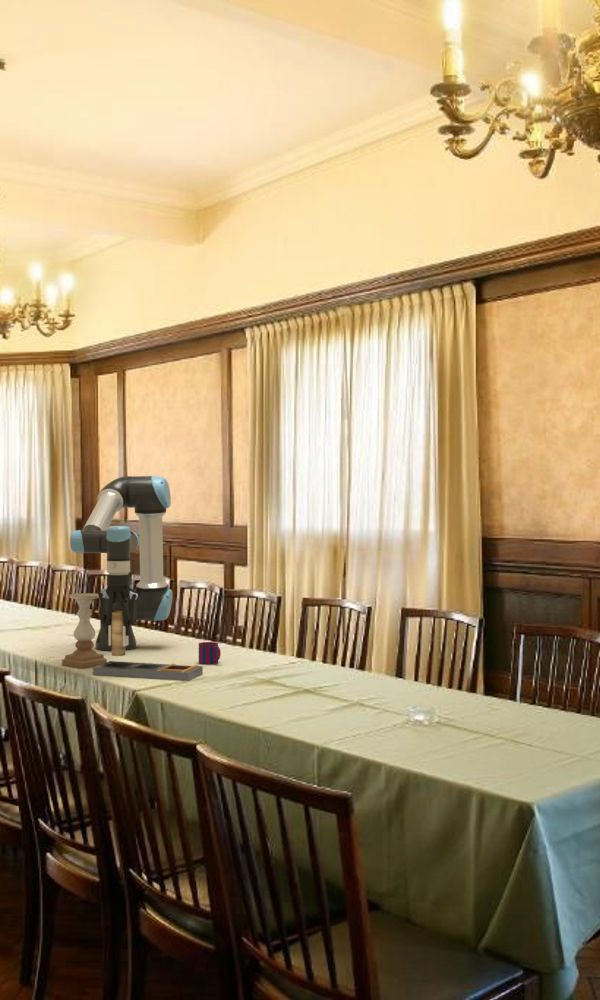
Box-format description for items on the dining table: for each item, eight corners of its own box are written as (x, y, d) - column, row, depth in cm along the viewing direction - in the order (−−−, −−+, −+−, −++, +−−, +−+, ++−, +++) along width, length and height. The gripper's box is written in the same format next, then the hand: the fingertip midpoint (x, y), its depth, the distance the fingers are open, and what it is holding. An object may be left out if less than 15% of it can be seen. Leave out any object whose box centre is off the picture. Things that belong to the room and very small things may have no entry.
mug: (212, 660, 352) (212, 641, 352) (226, 664, 344) (226, 645, 344) (195, 662, 349) (195, 642, 349) (208, 666, 340) (208, 646, 340)
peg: (115, 653, 331) (115, 610, 331) (127, 654, 330) (127, 611, 330) (109, 655, 327) (109, 612, 327) (121, 656, 326) (121, 613, 326)
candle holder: (82, 668, 335) (82, 597, 335) (61, 665, 342) (61, 594, 342) (107, 664, 344) (107, 594, 344) (86, 661, 351) (86, 592, 350)
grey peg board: (109, 668, 336) (109, 660, 336) (202, 674, 327) (202, 665, 327) (92, 674, 324) (92, 666, 324) (188, 680, 315) (188, 671, 315)
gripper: (88, 573, 327) (88, 645, 327) (138, 575, 322) (138, 648, 323) (99, 571, 334) (99, 642, 335) (147, 573, 329) (147, 644, 330)
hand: (118, 645), depth 329 cm, fingers closed on peg, 4 cm apart
